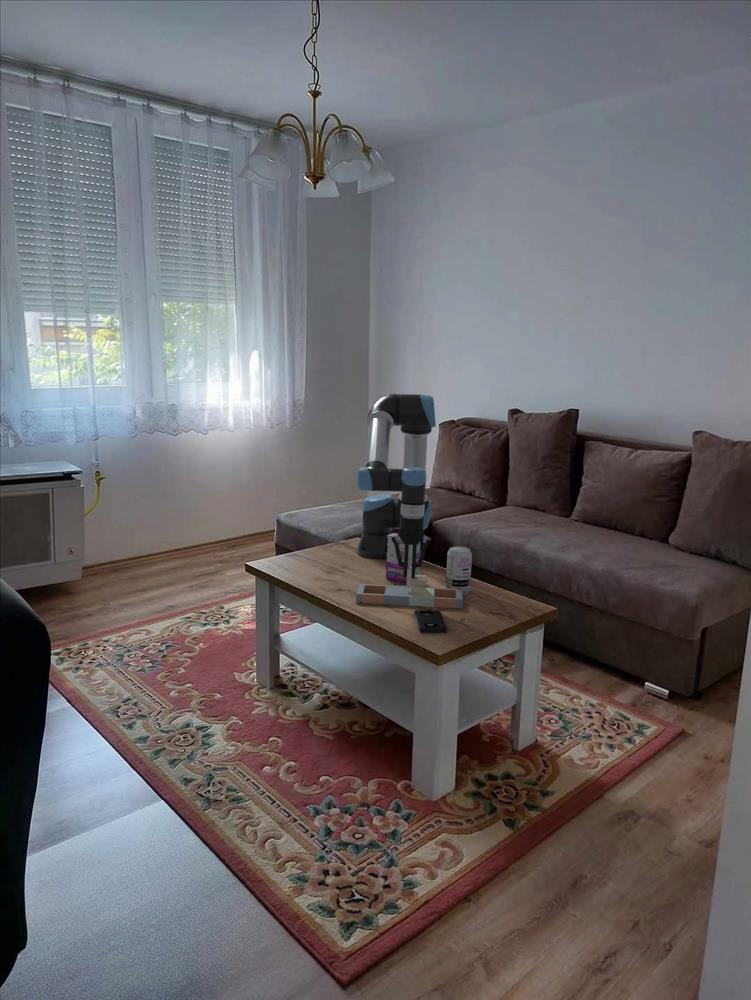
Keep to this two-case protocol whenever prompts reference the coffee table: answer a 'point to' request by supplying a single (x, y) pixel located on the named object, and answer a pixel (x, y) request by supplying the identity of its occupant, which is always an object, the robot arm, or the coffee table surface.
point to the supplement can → (459, 569)
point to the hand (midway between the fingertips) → (408, 586)
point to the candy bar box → (392, 567)
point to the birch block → (418, 585)
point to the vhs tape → (430, 621)
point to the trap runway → (409, 596)
